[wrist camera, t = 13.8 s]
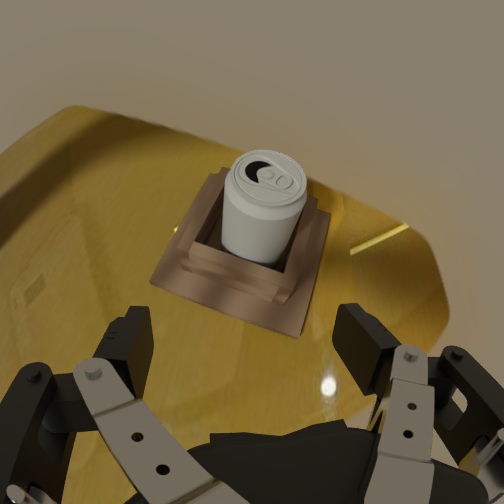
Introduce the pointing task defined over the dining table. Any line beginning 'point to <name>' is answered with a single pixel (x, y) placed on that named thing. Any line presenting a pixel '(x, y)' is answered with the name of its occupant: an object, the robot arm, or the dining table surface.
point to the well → (242, 265)
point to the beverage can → (261, 206)
